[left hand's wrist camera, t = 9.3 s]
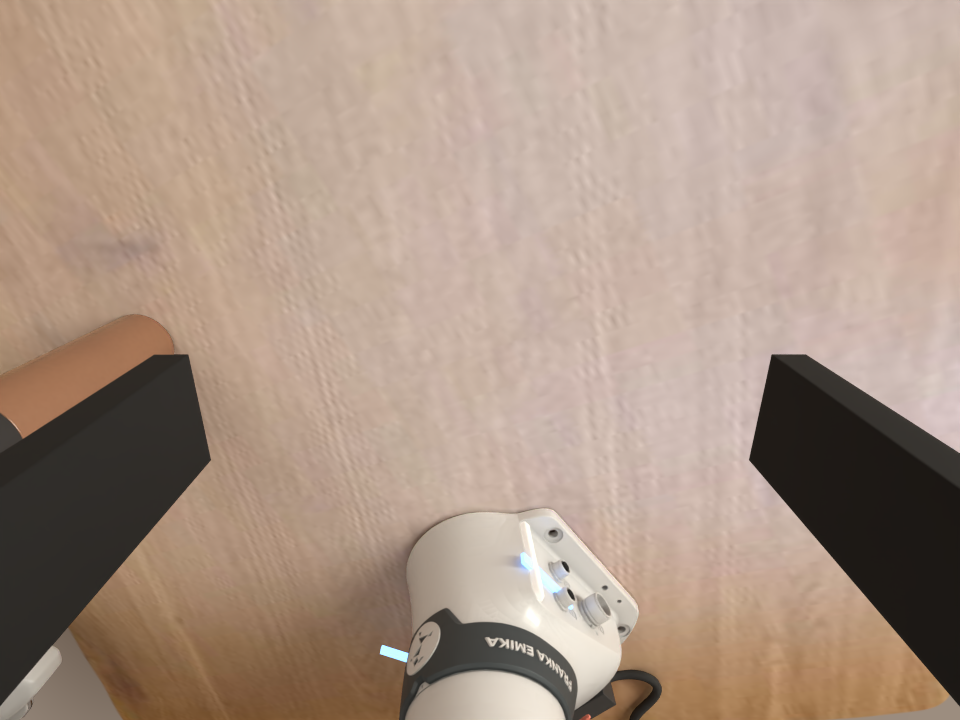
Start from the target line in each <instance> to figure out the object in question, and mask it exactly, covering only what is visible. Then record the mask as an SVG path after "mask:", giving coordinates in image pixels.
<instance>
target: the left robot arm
mask: <svg viewBox="0 0 960 720" xmlns="http://www.w3.org/2000/svg"><path fill="white" fill-rule="evenodd" d="M210 460H211V458H210V454H209V449H208V444H207V440H206V435H205V430H204V426H203V421H202V416H201V412H200V407H199V402H198V398H197V393H196V388H195V384H194V379H193V374H192V370H191V365H190V360H189V356H188V355H153V356H151V357H150V358H148V359H146V360H145V361H143V362H142V363H140V364H139V365H137V366H136V367H134V368H132V369H131V370H129V371H128V372H126V373H125V374H123V375H122V376H120V377H118V378H117V379H115V380H114V381H112V382H111V383H109V384H108V385H106V386H104V387H103V388H101V389H100V390H98V391H97V392H95V393H94V394H92V395H90V396H89V397H87V398H86V399H84V400H83V401H81V402H79V403H78V404H76V405H75V406H73V407H72V408H70V409H69V410H67V411H65V412H64V413H62V414H61V415H59V416H58V417H56V418H55V419H53V420H51V421H50V422H48V423H47V424H45V425H44V426H42V427H41V428H39V429H37V430H36V431H34V432H33V433H31V434H30V435H28V436H27V437H25V438H23V439H22V440H20V441H19V442H17V443H16V444H14V445H13V446H11V447H9V448H8V449H6V450H5V451H3V452H2V453H0V706H1V705H2V704H3V702H4V701H5V700H6V699H7V698H8V697H9V695H10V694H11V693H12V692H13V691H14V690H15V688H16V687H17V686H18V685H19V684H20V683H21V681H22V680H23V679H24V678H25V677H26V676H27V674H28V673H29V672H30V671H31V670H32V669H33V667H34V666H35V665H36V664H37V663H38V662H39V660H40V659H41V658H42V657H43V656H44V655H45V653H46V652H47V651H48V650H49V649H50V648H51V646H52V645H53V644H54V643H55V642H56V640H57V639H58V638H59V637H60V636H61V635H62V633H63V632H64V631H65V630H66V629H67V628H68V626H69V625H70V624H71V623H72V622H73V621H74V619H75V618H76V617H77V616H78V615H79V614H80V612H81V611H82V610H83V609H84V608H85V607H86V605H87V604H88V603H89V602H90V601H91V600H92V598H93V597H94V596H95V595H96V594H97V593H98V591H99V590H100V589H101V588H102V587H103V586H104V584H105V583H106V582H107V581H108V580H109V579H110V577H111V576H112V575H113V574H114V573H115V572H116V570H117V569H118V568H119V567H120V566H121V565H122V563H123V562H124V561H125V560H126V559H127V557H128V556H129V555H130V554H131V553H132V552H133V550H134V549H135V548H136V547H137V546H138V545H139V543H140V542H141V541H142V540H143V539H144V538H145V536H146V535H147V534H148V533H149V532H150V531H151V529H152V528H153V527H154V526H155V525H156V524H157V522H158V521H159V520H160V519H161V518H162V517H163V515H164V514H165V513H166V512H167V511H168V510H169V508H170V507H171V506H172V505H173V504H174V503H175V501H176V500H177V499H178V498H179V497H180V496H181V494H182V493H183V492H184V491H185V490H186V489H187V487H188V486H189V485H190V484H191V483H192V482H193V480H194V479H195V478H196V477H197V476H198V474H199V473H200V472H201V471H202V470H203V469H204V467H205V466H206V465H207V464H208V463H209V462H210ZM749 460H750V462H751V463H752V464H753V465H754V466H755V467H756V469H757V470H758V471H759V472H760V473H761V474H762V476H763V477H764V478H765V479H766V480H767V482H768V483H769V484H770V485H771V486H772V487H773V489H774V490H775V491H776V492H777V493H778V494H779V496H780V497H781V498H782V499H783V500H784V501H785V503H786V504H787V505H788V506H789V507H790V508H791V510H792V511H793V512H794V513H795V514H796V515H797V517H798V518H799V519H800V520H801V521H802V522H803V524H804V525H805V526H806V527H807V528H808V529H809V531H810V532H811V533H812V534H813V535H814V536H815V538H816V539H817V540H818V541H819V542H820V543H821V545H822V546H823V547H824V548H825V549H826V550H827V552H828V553H829V554H830V555H831V556H832V557H833V559H834V560H835V561H836V562H837V563H838V565H839V566H840V567H841V568H842V569H843V570H844V572H845V573H846V574H847V575H848V576H849V577H850V579H851V580H852V581H853V582H854V583H855V584H856V586H857V587H858V588H859V589H860V590H861V591H862V593H863V594H864V595H865V596H866V597H867V598H868V600H869V601H870V602H871V603H872V604H873V605H874V607H875V608H876V609H877V610H878V611H879V612H880V614H881V615H882V616H883V617H884V618H885V619H886V621H887V622H888V623H889V624H890V625H891V626H892V628H893V629H894V630H895V631H896V632H897V633H898V635H899V636H900V637H901V638H902V639H903V641H904V642H905V643H906V644H907V645H908V646H909V648H910V649H911V650H912V651H913V652H914V653H915V655H916V656H917V657H918V658H919V659H920V660H921V662H922V663H923V664H924V665H925V666H926V667H927V669H928V670H929V671H930V672H931V673H932V674H933V676H934V677H935V678H936V679H937V680H938V681H939V683H940V684H941V685H942V686H943V687H944V688H945V690H946V691H947V692H948V693H949V694H950V695H951V697H952V698H953V699H954V700H955V701H956V702H957V704H958V705H959V706H960V453H958V452H957V451H955V450H954V449H952V448H951V447H949V446H947V445H946V444H944V443H943V442H941V441H940V440H938V439H937V438H935V437H933V436H932V435H930V434H929V433H927V432H926V431H924V430H923V429H921V428H919V427H918V426H916V425H915V424H913V423H912V422H910V421H909V420H907V419H905V418H904V417H902V416H901V415H899V414H898V413H896V412H895V411H893V410H891V409H890V408H888V407H887V406H885V405H884V404H882V403H881V402H879V401H877V400H876V399H874V398H873V397H871V396H870V395H868V394H866V393H865V392H863V391H862V390H860V389H859V388H857V387H856V386H854V385H852V384H851V383H849V382H848V381H846V380H845V379H843V378H842V377H840V376H838V375H837V374H835V373H834V372H832V371H831V370H829V369H828V368H826V367H824V366H823V365H821V364H820V363H818V362H817V361H815V360H814V359H812V358H810V357H809V356H807V355H772V356H771V360H770V365H769V370H768V374H767V379H766V384H765V388H764V393H763V398H762V402H761V407H760V412H759V416H758V421H757V426H756V430H755V435H754V440H753V444H752V449H751V454H750V458H749Z"/></svg>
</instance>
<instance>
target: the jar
mask: <svg viewBox="0 0 960 720" xmlns="http://www.w3.org/2000/svg"><path fill="white" fill-rule="evenodd" d="M153 355H174V346H173V342H172V339H171V337H170V335H169V334H168V332H167V331H166V330H165V328H164V327H163V326H161V325H160V324H159V323H158V322H156V321H155V320H153V319H151V318H149V317H146V316H142V315H136V314H133V315H126V316H123V317H121V318H119V319H116V320H114V321H112V322H110V323H108V324H106V325H104V326H102V327H100V328H98V329H96V330H93V331H91V332H89V333H87V334H85V335H83V336H81V337H79V338H77V339H75V340H73V341H71V342H68V343H66V344H64V345H62V346H60V347H58V348H56V349H54V350H52V351H50V352H48V353H45V354H43V355H41V356H39V357H37V358H35V359H33V360H31V361H29V362H27V363H25V364H22V365H20V366H18V367H16V368H14V369H12V370H10V371H8V372H6V373H4V374H2V375H0V413H1V414H2V415H3V416H4V417H6V418H7V419H8V420H9V421H10V422H11V423H12V424H13V425H14V426H15V428H16V429H17V430H18V432H19V433H20V435H21V437H22V438H25V437H27V436H28V435H30V434H31V433H33V432H34V431H36V430H37V429H39V428H41V427H42V426H44V425H45V424H47V423H48V422H50V421H51V420H53V419H55V418H56V417H58V416H59V415H61V414H62V413H64V412H65V411H67V410H69V409H70V408H72V407H73V406H75V405H76V404H78V403H79V402H81V401H83V400H84V399H86V398H87V397H89V396H90V395H92V394H94V393H95V392H97V391H98V390H100V389H101V388H103V387H104V386H106V385H108V384H109V383H111V382H112V381H114V380H115V379H117V378H118V377H120V376H122V375H123V374H125V373H126V372H128V371H129V370H131V369H132V368H134V367H136V366H137V365H139V364H140V363H142V362H143V361H145V360H146V359H148V358H150V357H151V356H153Z"/></svg>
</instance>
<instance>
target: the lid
mask: <svg viewBox="0 0 960 720" xmlns="http://www.w3.org/2000/svg"><path fill="white" fill-rule="evenodd" d="M22 439H23V438H22V437H21V435H20V433H19V432H18V430H17V429H16V428H15V426H14V425H13V424H12V423H11V422H10V421H9V420H8V419H7V418H6V417H4V416H3V415H2V414H1V413H0V453H2V452H3V451H5V450H6V449H8V448H9V447H11V446H13V445H14V444H16V443H17V442H19V441H20V440H22Z"/></svg>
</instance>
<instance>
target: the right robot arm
mask: <svg viewBox="0 0 960 720" xmlns="http://www.w3.org/2000/svg"><path fill="white" fill-rule="evenodd" d="M550 530H556V531H555V532H549V531H550ZM406 579H407V585H408V589H409V594H410V602H411V613H412V641H411V645H410V649H409V653H405V652H402V651H399V650H396V649H393V648H390V647H387V646H384V645H382V647H381V651H380V654H382V655H385V656H388V657H392V658H395V659H398V660H401V661H404V662H406V667H405V673H404V680H403V688H402V697H401V706H400V717H399V720H590V719H592V718H594V717H596V716H597V715H599V714H601V713H602V712H604V711H606V710H608V709H609V708H611V707H613V706H615V705H616V702H615V698H614V694H613V690H612V686H611V682H613V681H617V680H623V679H636V680H641V681H645V682H647V683H649V684H650V685H651V686H652V687H653V690H652V692H651V693H650V695H649V696H648V697H647V698H646V699H645V700H644V701H643V702H642V703H640V704H639V705H638V706H637V707H636V709H635V710H634V711H633V712H632V714H631V716H630V720H639V719H640V718H641V716H642V715H643V714H644V713H645V712H646V711H647V710H649V709H650V708H651V707H652V706H653V705H654V704H655V703H656V702H657V700H658V699H659V698H660V695H661V692H662V687H661V685H660V683H659V681H658V680H657V679H656V678H655V677H654V676H652V675H651V674H649V673H646V672H643V671H638V670H624V671H617V669H618V667H619V665H620V661H621V655H622V650H621V644H622V643H623V642H624V641H625V639H626V638H627V637H628V636H629V634H630V633H631V631H632V629H633V628H634V626H635V624H636V621H637V618H638V615H639V611H638V606H637V603H636V602H635V600H634V599H633V598H632V597H631V596H630V594H629V593H628V592H627V591H626V590H625V589H624V588H623V587H622V586H621V584H620V583H619V582H618V581H617V580H616V579H615V578H614V577H613V575H612V574H611V573H610V572H609V571H608V570H607V569H606V568H605V567H604V565H603V564H602V563H601V562H600V561H599V560H598V559H597V558H596V557H595V555H594V554H593V553H592V552H591V551H590V550H589V549H588V548H587V546H586V545H585V544H584V543H583V542H582V541H581V540H580V539H579V538H578V536H577V535H576V534H575V533H574V532H573V531H572V530H571V529H570V528H569V526H568V525H567V524H566V523H565V522H564V521H563V520H562V519H561V518H560V516H559V515H558V514H557V513H556V512H555V511H553V510H551V509H548V508H540V509H534V510H529V511H525V512H521V513H517V514H508V513H497V512H474V513H467V514H463V515H459V516H455V517H452V518H450V519H447V520H445V521H443V522H441V523H439V524H437V525H436V526H434V527H433V528H431V529H430V530H429V531H427V532H426V533H425V534H424V535H423V536H422V537H421V538H420V539H419V540H418V542H417V543H416V544H415V546H414V547H413V549H412V551H411V553H410V555H409V558H408V562H407V567H406ZM61 663H62V656H61V653H60V650H59V649H58V648H56V647H55V646H53V645H52V646H51V648H50V649H49V650H48V651H47V652H46V653H45V655H44V656H43V657H42V658H41V659H40V660H39V662H38V663H37V664H36V665H35V666H34V667H33V669H32V670H31V671H30V672H29V673H28V674H27V676H26V677H25V678H24V679H23V680H22V681H21V683H20V684H19V685H18V686H17V687H16V688H15V690H14V691H13V692H12V693H11V694H10V695H9V697H8V698H7V699H6V700H5V701H4V702H3V704H2V705H1V706H0V720H20V719H21V718H23V717H24V716H25V715H26V714H27V712H28V711H29V710H30V709H31V707H32V704H33V697H34V696H35V695H36V694H37V693H38V691H39V690H40V689H41V688H42V687H43V685H44V684H45V683H46V682H47V681H48V679H49V678H50V677H51V676H52V674H53V673H54V672H55V671H56V669H57V668H58V667H59V665H60V664H61Z"/></svg>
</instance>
